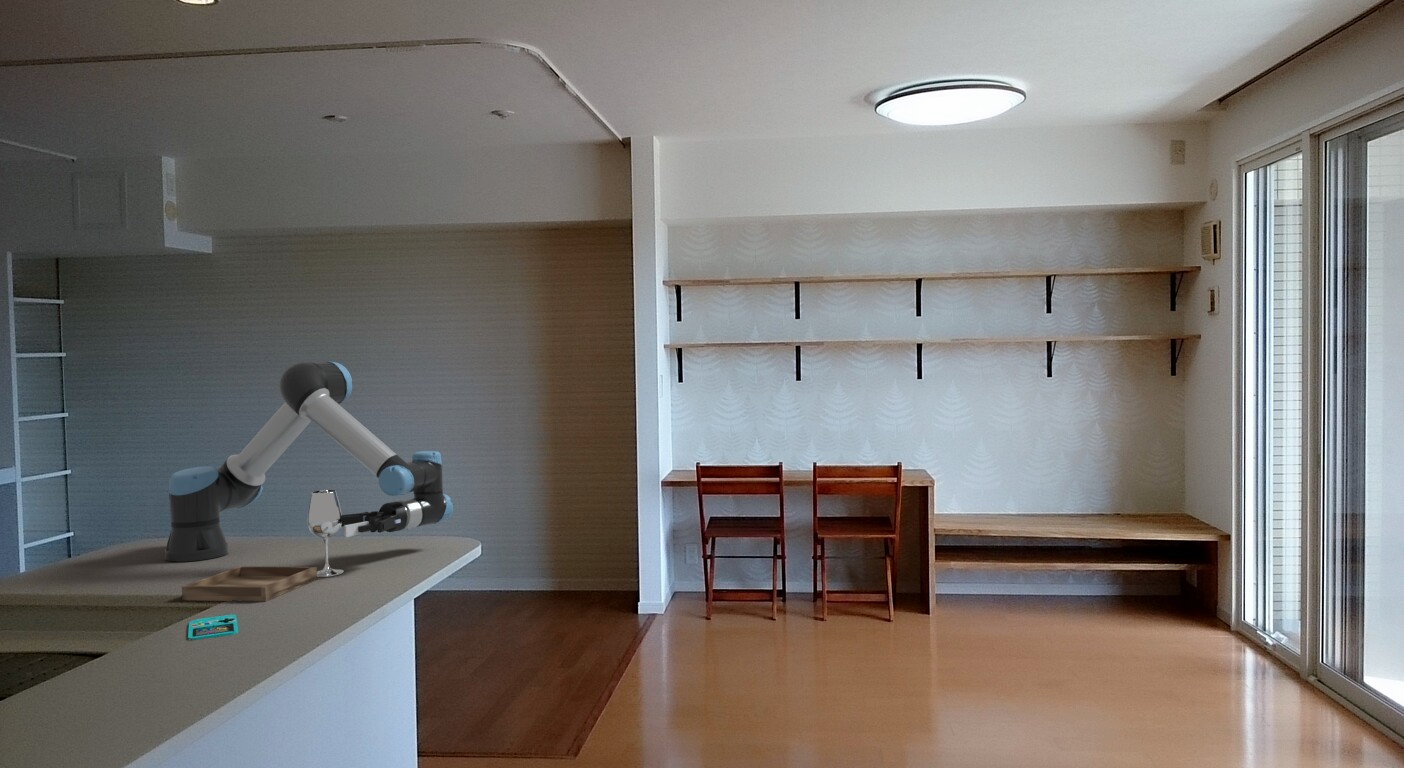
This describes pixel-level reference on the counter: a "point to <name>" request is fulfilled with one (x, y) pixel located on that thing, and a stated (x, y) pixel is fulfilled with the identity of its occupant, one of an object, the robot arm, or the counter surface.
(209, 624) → the handheld gaming console
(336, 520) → the wineglass
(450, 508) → the robot arm
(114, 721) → the counter surface
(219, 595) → the walnut tray
